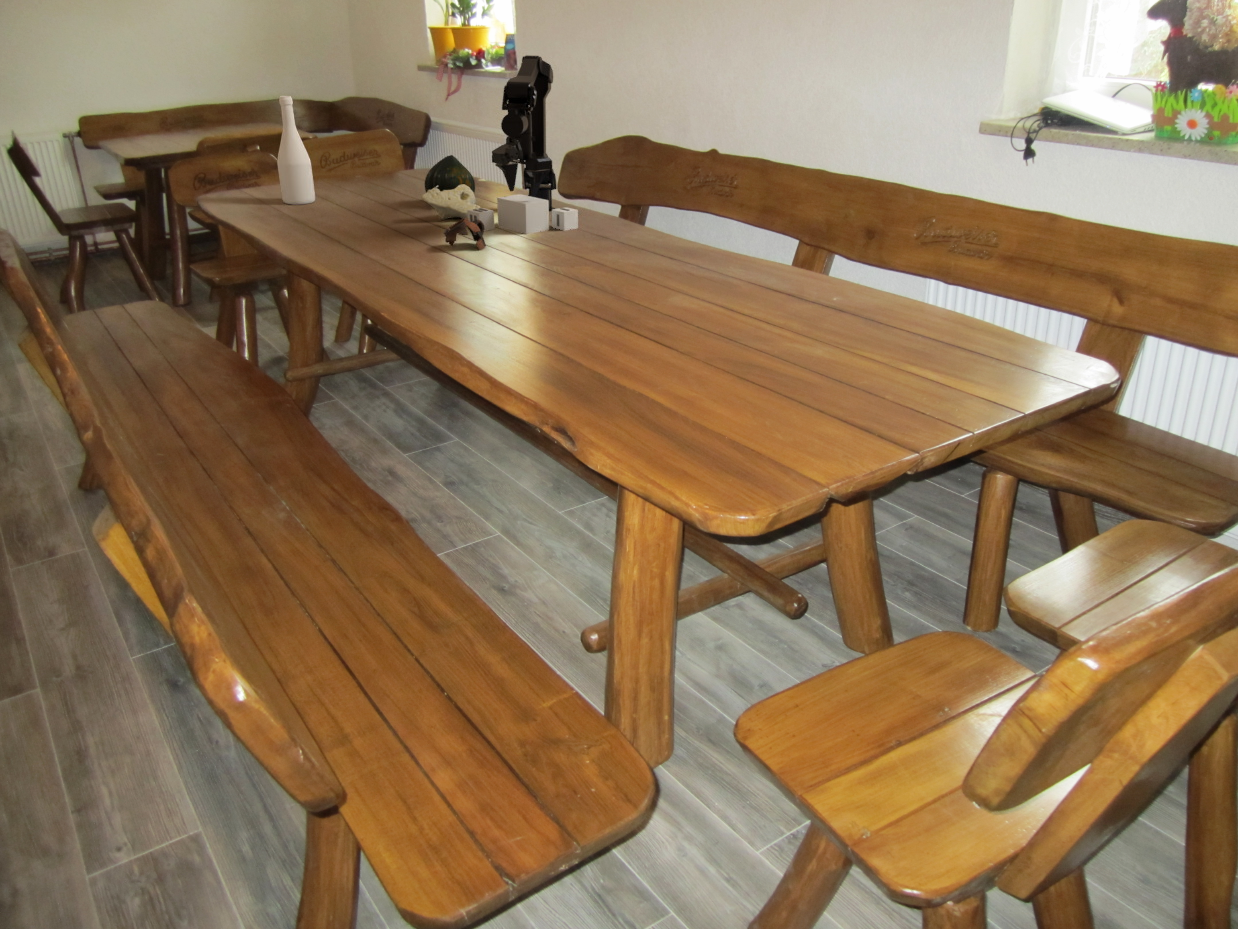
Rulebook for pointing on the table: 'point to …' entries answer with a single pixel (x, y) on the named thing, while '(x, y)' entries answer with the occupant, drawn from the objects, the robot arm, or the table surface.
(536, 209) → the plain grey block
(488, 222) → the white marked cube
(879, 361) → the table surface
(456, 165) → the squash
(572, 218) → the striped block one
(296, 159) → the wine bottle
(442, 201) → the cheese
